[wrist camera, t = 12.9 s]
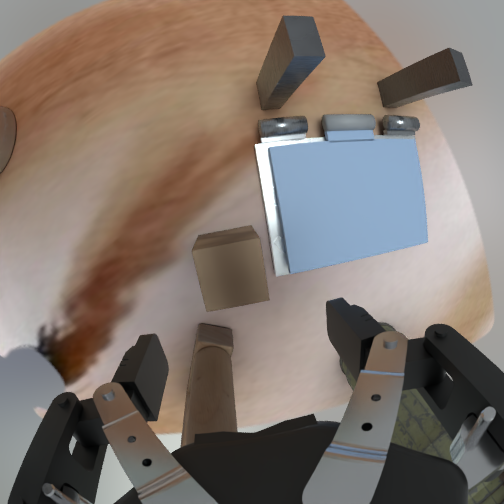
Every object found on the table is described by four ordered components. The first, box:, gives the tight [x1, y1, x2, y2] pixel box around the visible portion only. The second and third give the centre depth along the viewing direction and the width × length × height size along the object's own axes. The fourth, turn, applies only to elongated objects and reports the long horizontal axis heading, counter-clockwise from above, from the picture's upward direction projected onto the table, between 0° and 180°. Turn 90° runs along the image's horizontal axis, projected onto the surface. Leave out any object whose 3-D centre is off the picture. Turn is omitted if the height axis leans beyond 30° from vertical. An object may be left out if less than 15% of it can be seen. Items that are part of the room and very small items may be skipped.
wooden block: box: [181, 324, 237, 447], centre depth 20 cm, size 4×11×18 cm, turn 166°
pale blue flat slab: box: [268, 114, 428, 274], centre depth 23 cm, size 16×14×2 cm
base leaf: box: [254, 16, 472, 277], centre depth 19 cm, size 18×19×12 cm
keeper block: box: [192, 226, 269, 312], centre depth 23 cm, size 5×5×6 cm
